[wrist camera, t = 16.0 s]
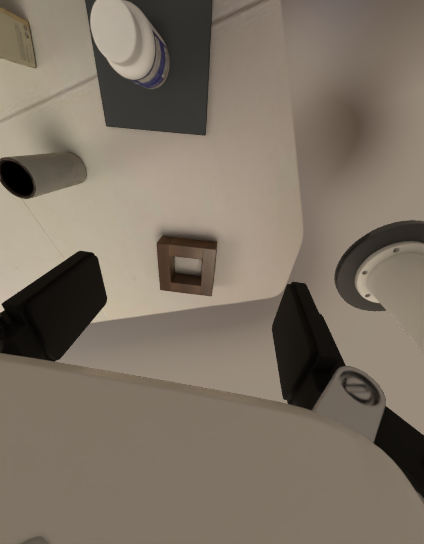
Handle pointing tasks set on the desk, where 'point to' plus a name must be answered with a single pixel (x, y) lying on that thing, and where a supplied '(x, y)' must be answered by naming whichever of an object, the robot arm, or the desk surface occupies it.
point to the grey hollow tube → (40, 173)
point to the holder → (187, 249)
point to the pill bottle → (129, 42)
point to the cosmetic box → (15, 39)
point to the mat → (181, 77)
